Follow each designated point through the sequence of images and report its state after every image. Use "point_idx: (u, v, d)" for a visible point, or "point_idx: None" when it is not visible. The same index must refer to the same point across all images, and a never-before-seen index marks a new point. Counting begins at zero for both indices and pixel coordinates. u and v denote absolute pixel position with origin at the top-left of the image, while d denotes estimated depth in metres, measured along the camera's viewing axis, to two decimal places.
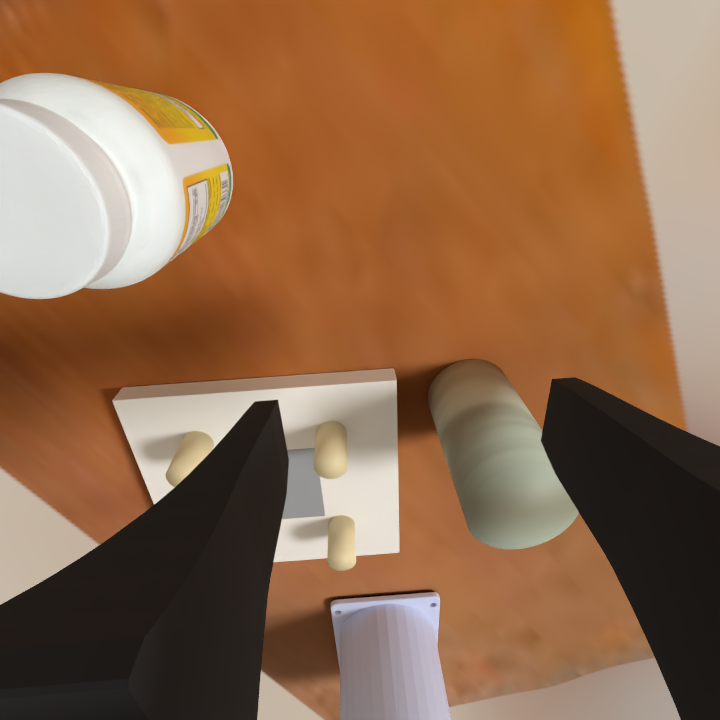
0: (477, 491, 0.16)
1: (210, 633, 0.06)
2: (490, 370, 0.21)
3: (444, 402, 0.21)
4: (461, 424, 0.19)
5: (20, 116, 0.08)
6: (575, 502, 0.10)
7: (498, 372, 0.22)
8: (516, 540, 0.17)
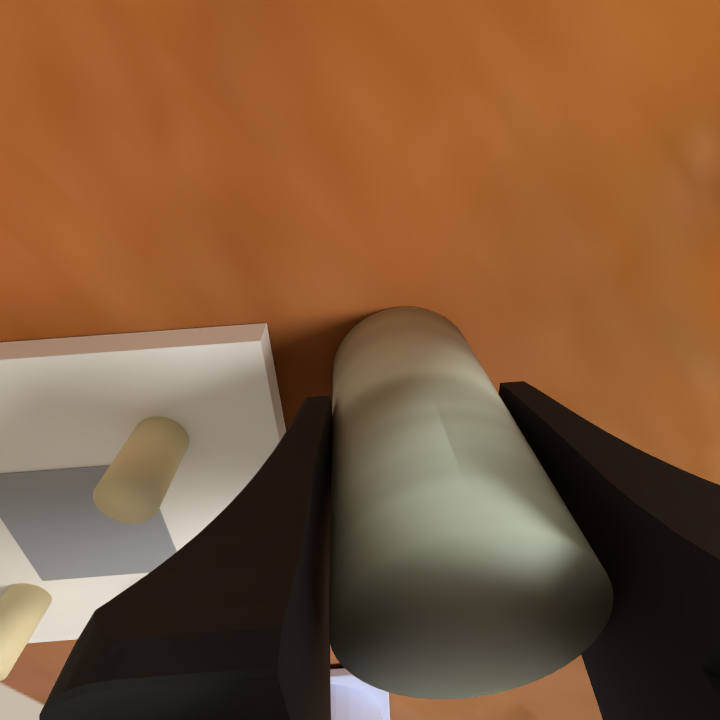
0: (345, 587, 0.06)
1: (308, 625, 0.06)
2: (431, 323, 0.12)
3: (343, 379, 0.11)
4: (354, 419, 0.09)
5: None
6: None
7: (447, 327, 0.12)
8: (460, 684, 0.07)
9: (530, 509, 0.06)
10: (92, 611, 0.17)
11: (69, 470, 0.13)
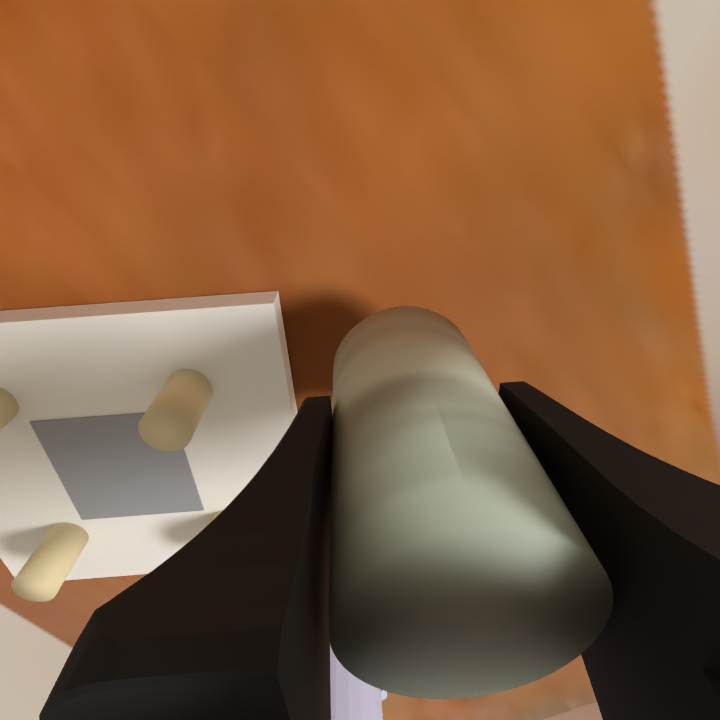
0: (344, 587, 0.06)
1: (308, 625, 0.06)
2: (431, 323, 0.12)
3: (343, 379, 0.11)
4: (354, 419, 0.09)
5: None
6: None
7: (447, 327, 0.12)
8: (459, 683, 0.07)
9: (530, 509, 0.06)
10: (123, 550, 0.19)
11: (110, 417, 0.16)
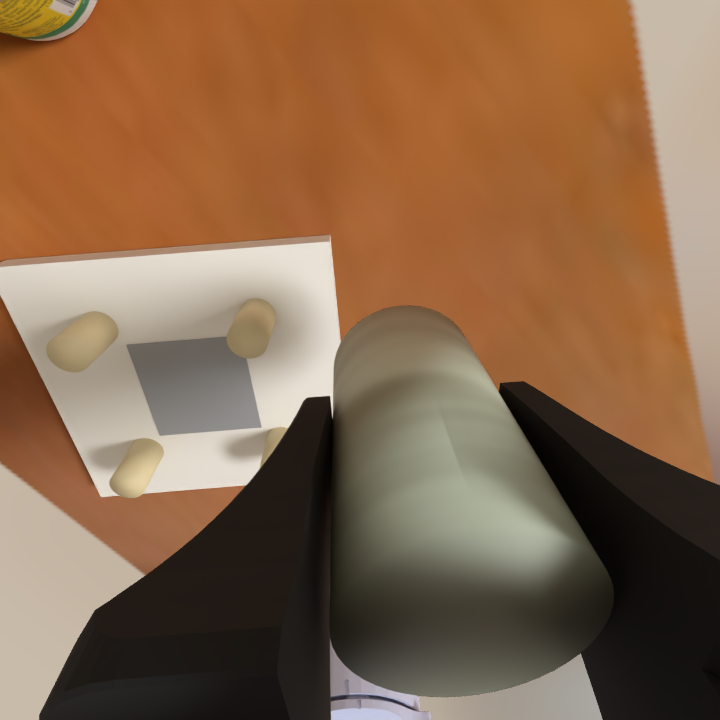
0: (346, 583, 0.06)
1: (308, 625, 0.06)
2: (432, 322, 0.12)
3: (343, 378, 0.11)
4: (355, 418, 0.09)
5: None
6: None
7: (448, 326, 0.12)
8: (460, 681, 0.07)
9: (531, 506, 0.06)
10: (191, 465, 0.23)
11: (191, 341, 0.19)
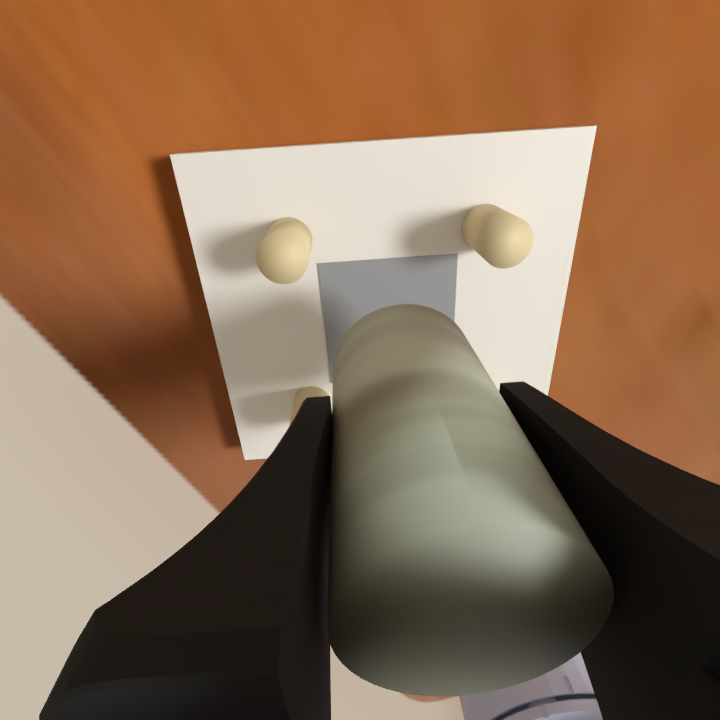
0: (345, 582, 0.06)
1: (308, 625, 0.06)
2: (432, 320, 0.12)
3: (343, 376, 0.11)
4: (355, 415, 0.09)
5: None
6: None
7: (448, 325, 0.12)
8: (458, 680, 0.07)
9: (531, 505, 0.06)
10: None
11: (397, 259, 0.16)
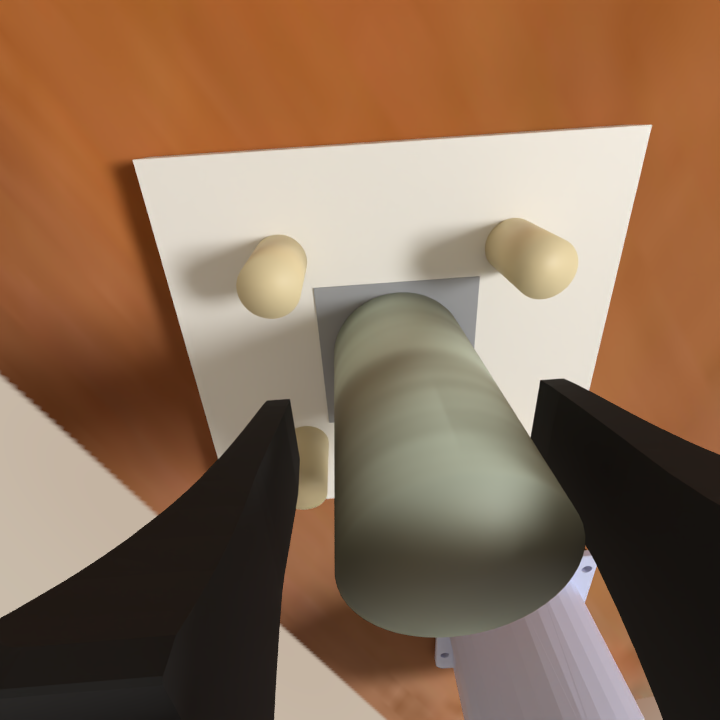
0: (350, 525, 0.07)
1: (233, 631, 0.06)
2: (427, 307, 0.13)
3: (344, 357, 0.12)
4: (356, 390, 0.10)
5: None
6: None
7: (441, 311, 0.13)
8: (450, 622, 0.08)
9: (512, 457, 0.07)
10: None
11: (407, 283, 0.13)
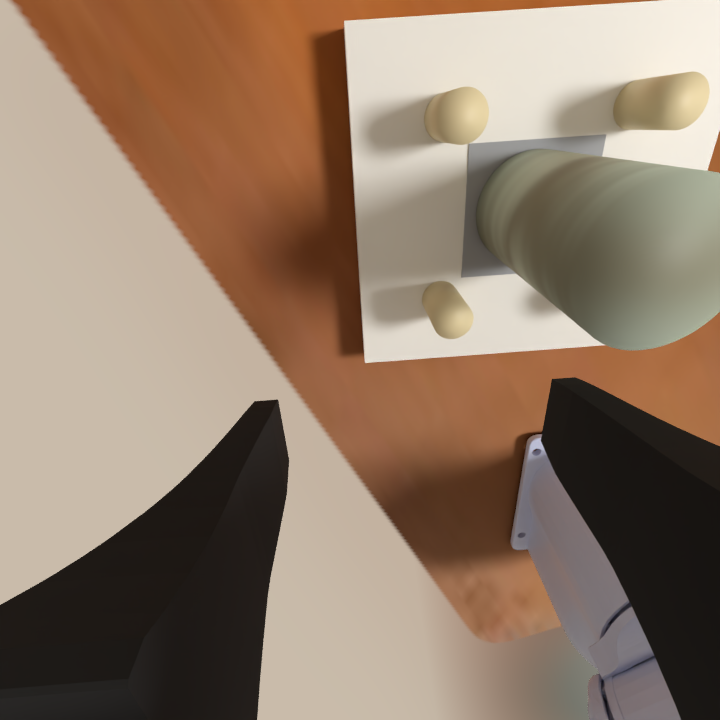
0: (597, 225, 0.10)
1: (210, 633, 0.06)
2: None
3: (509, 187, 0.15)
4: (545, 186, 0.13)
5: None
6: (575, 502, 0.10)
7: None
8: (643, 332, 0.11)
9: None
10: (481, 320, 0.20)
11: (546, 140, 0.16)
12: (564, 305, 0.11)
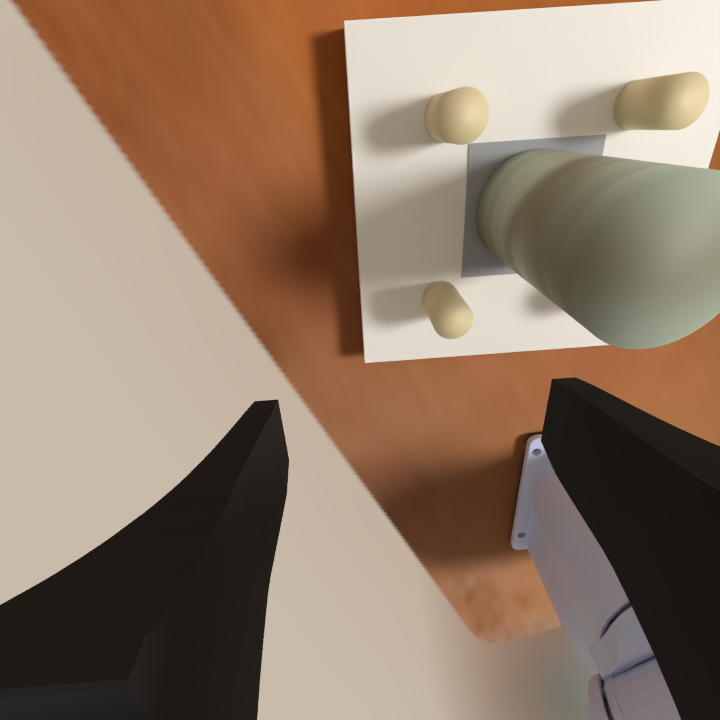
0: (599, 225, 0.10)
1: (210, 633, 0.06)
2: None
3: (509, 188, 0.15)
4: (546, 186, 0.13)
5: None
6: (575, 502, 0.10)
7: None
8: (646, 331, 0.11)
9: None
10: (481, 320, 0.20)
11: (546, 140, 0.16)
12: (567, 305, 0.11)
